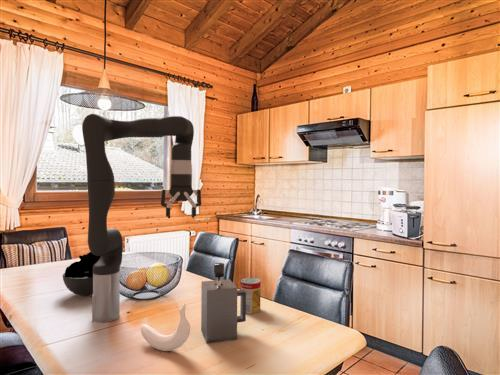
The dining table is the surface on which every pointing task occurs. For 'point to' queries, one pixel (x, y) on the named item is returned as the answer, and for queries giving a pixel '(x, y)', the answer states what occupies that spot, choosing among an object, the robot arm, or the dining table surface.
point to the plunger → (219, 272)
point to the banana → (170, 340)
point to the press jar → (221, 310)
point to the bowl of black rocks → (81, 275)
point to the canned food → (251, 294)
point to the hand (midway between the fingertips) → (181, 218)
